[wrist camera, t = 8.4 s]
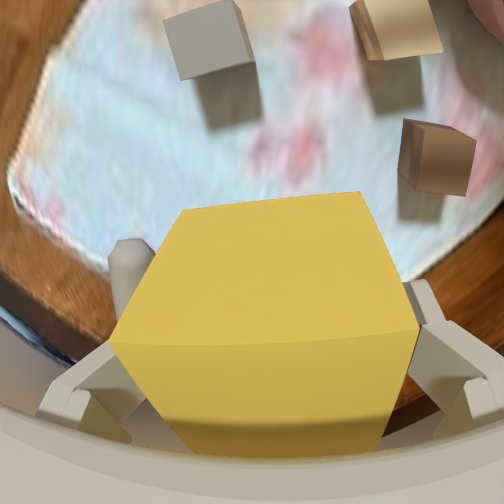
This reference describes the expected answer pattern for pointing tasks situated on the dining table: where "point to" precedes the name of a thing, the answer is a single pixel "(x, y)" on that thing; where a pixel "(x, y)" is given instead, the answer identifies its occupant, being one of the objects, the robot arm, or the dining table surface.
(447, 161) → the walnut cube
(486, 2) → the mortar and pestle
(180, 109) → the dining table surface
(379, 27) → the beech cube
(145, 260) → the tube
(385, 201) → the dining table surface
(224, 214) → the mustard cube
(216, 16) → the grey cube
